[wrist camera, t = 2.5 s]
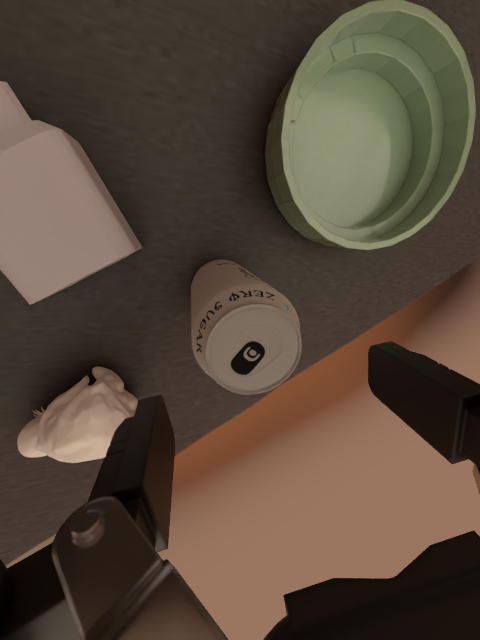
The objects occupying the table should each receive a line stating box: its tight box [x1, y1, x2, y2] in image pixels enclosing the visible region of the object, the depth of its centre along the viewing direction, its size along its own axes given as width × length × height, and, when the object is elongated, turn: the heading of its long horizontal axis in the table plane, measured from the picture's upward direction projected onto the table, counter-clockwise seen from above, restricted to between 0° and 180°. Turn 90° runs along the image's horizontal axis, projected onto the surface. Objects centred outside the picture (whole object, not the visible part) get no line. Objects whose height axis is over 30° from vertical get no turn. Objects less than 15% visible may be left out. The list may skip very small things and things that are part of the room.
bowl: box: [265, 0, 476, 250], centre depth 23 cm, size 16×16×5 cm
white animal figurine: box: [17, 367, 138, 463], centre depth 24 cm, size 6×8×12 cm
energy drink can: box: [191, 260, 302, 395], centre depth 20 cm, size 6×6×15 cm
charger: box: [0, 81, 143, 305], centre depth 19 cm, size 5×9×15 cm
